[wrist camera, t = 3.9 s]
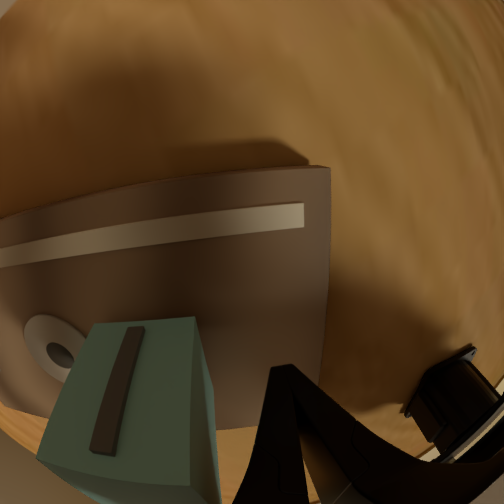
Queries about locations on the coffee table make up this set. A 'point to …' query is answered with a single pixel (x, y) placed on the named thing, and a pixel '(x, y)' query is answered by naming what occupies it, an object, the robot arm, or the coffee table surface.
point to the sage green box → (137, 417)
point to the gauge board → (172, 279)
